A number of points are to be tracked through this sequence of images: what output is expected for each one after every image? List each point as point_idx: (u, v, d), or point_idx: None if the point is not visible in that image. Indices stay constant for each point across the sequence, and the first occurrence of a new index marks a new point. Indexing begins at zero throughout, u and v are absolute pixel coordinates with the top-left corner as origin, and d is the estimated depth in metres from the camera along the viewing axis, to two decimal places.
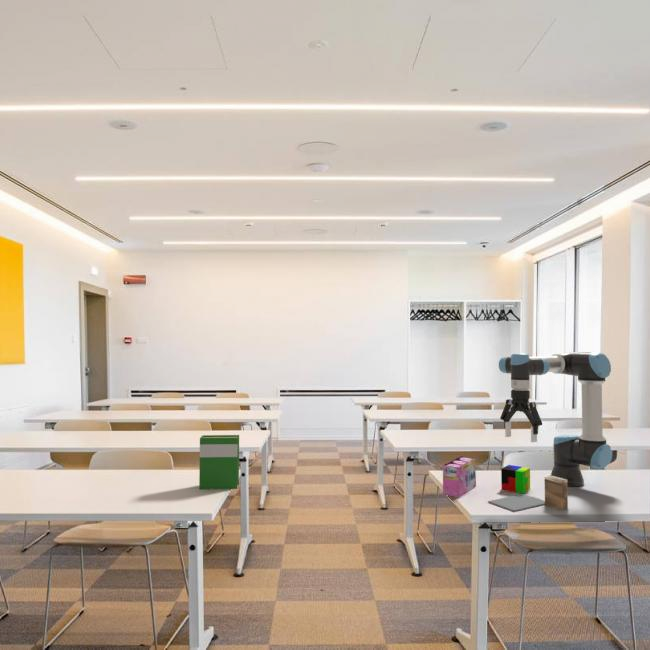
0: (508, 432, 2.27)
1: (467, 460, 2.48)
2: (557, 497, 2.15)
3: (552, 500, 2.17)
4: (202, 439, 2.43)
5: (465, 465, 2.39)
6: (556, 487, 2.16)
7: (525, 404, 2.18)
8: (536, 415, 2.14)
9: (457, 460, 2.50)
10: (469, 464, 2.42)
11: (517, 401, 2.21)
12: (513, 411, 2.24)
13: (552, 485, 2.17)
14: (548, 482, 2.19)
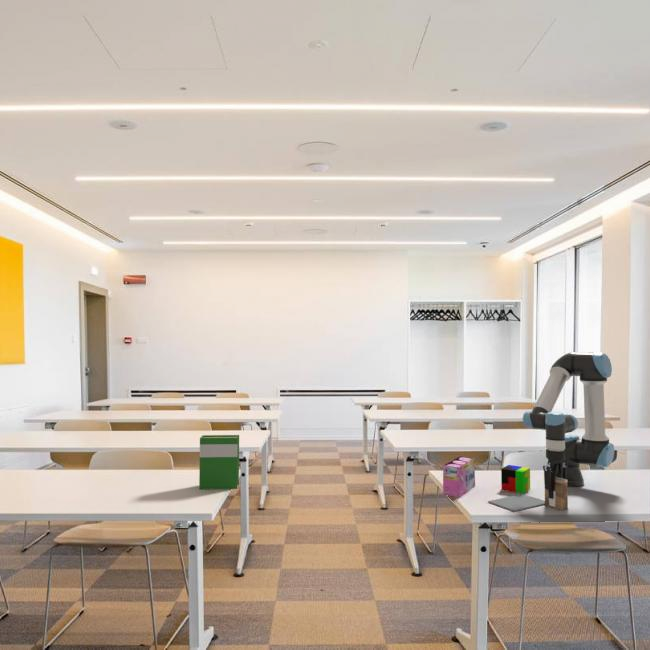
0: None
1: (466, 460, 2.48)
2: (557, 497, 2.15)
3: None
4: (202, 439, 2.43)
5: (465, 465, 2.39)
6: (556, 487, 2.16)
7: None
8: (546, 479, 2.16)
9: (456, 460, 2.50)
10: (469, 464, 2.43)
11: None
12: (556, 473, 2.20)
13: None
14: None
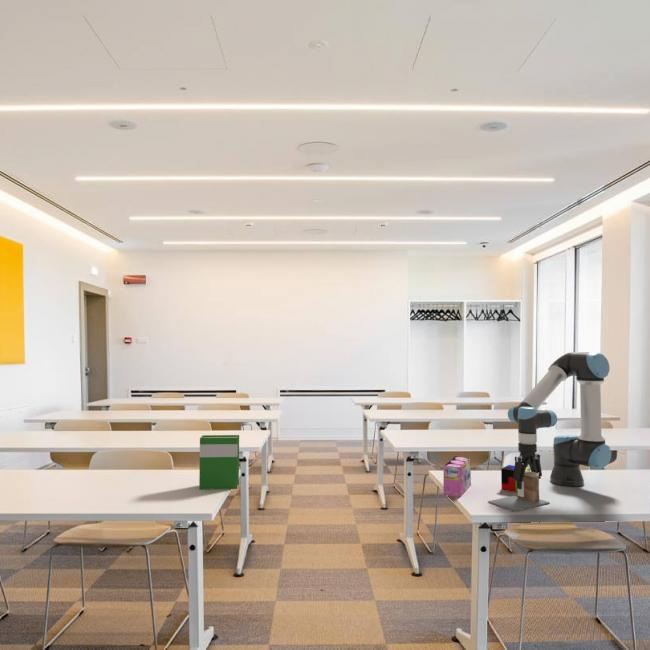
0: None
1: (463, 460, 2.49)
2: (529, 490, 2.23)
3: (524, 493, 2.25)
4: (202, 439, 2.43)
5: (464, 465, 2.39)
6: (528, 481, 2.23)
7: None
8: (515, 470, 2.23)
9: (453, 460, 2.50)
10: (466, 464, 2.43)
11: None
12: (530, 465, 2.28)
13: (524, 479, 2.25)
14: None
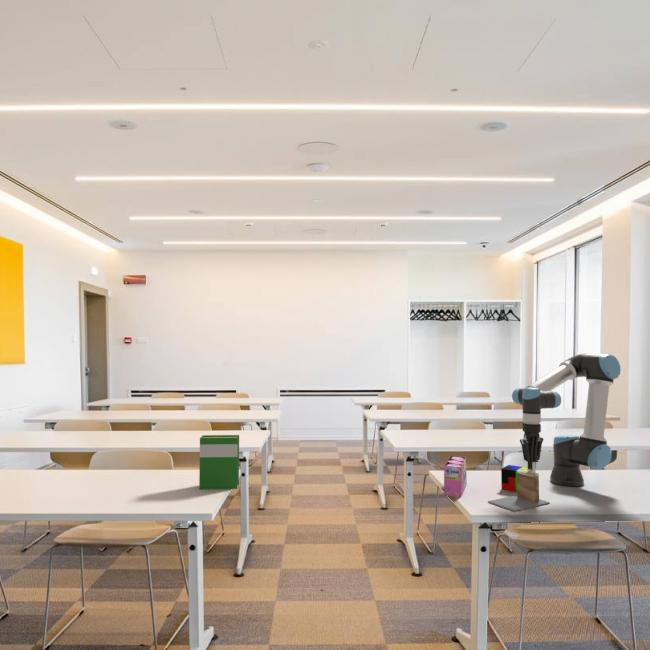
0: None
1: (459, 459, 2.50)
2: (529, 490, 2.23)
3: (524, 493, 2.25)
4: (202, 439, 2.43)
5: (463, 465, 2.40)
6: (528, 481, 2.23)
7: None
8: (524, 452, 2.26)
9: (449, 460, 2.51)
10: (464, 463, 2.44)
11: None
12: None
13: (524, 479, 2.25)
14: (520, 476, 2.27)
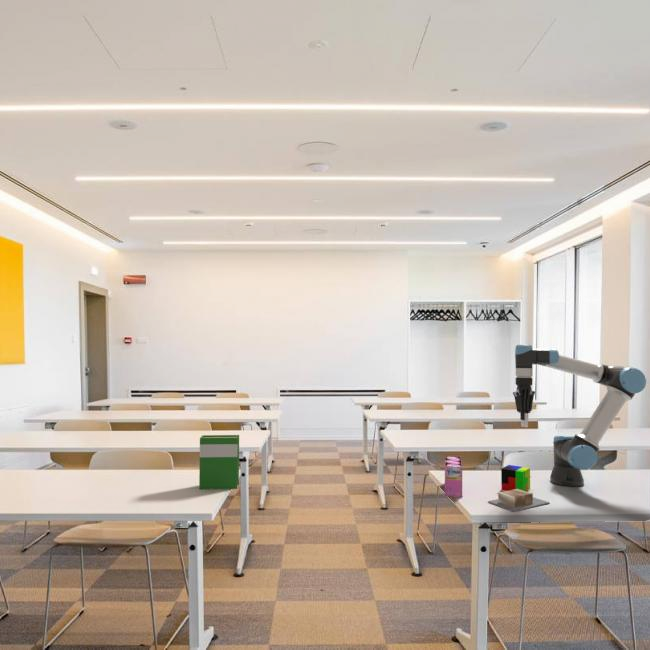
0: None
1: (455, 459, 2.50)
2: None
3: None
4: (202, 439, 2.43)
5: (461, 464, 2.40)
6: None
7: None
8: (517, 403, 2.43)
9: (445, 460, 2.51)
10: (461, 463, 2.45)
11: None
12: None
13: None
14: None
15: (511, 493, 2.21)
